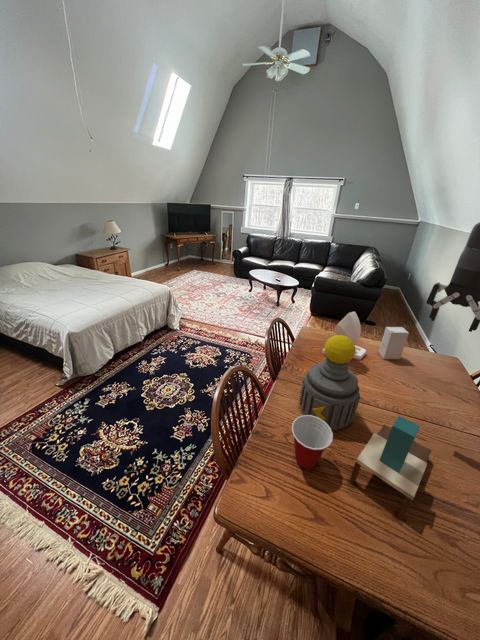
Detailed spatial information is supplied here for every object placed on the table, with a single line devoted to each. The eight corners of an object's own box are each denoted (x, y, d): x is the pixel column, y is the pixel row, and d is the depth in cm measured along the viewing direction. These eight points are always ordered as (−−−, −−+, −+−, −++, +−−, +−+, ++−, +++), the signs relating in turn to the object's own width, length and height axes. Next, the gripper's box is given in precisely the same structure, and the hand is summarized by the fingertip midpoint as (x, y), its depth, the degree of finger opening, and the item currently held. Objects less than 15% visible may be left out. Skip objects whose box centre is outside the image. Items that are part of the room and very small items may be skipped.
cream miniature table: (427, 458, 79) (438, 436, 75) (402, 520, 63) (414, 497, 59) (381, 432, 87) (389, 411, 83) (349, 482, 71) (356, 458, 67)
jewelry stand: (338, 340, 143) (348, 296, 132) (368, 351, 133) (381, 305, 123) (315, 358, 126) (324, 309, 115) (347, 372, 116) (360, 320, 106)
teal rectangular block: (404, 461, 67) (420, 426, 62) (398, 473, 64) (414, 437, 59) (385, 449, 70) (398, 415, 65) (379, 460, 67) (392, 425, 62)
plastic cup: (287, 475, 72) (292, 443, 67) (286, 442, 82) (291, 412, 77) (328, 481, 71) (337, 450, 66) (322, 447, 81) (329, 417, 76)
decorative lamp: (346, 442, 83) (370, 360, 70) (289, 415, 92) (302, 339, 79) (358, 406, 97) (380, 334, 85) (308, 386, 106) (321, 318, 94)
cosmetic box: (394, 353, 133) (403, 326, 126) (400, 360, 127) (410, 332, 121) (377, 352, 133) (385, 325, 126) (383, 359, 127) (391, 331, 121)
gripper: (438, 263, 68) (418, 320, 75) (513, 275, 59) (482, 339, 66) (444, 259, 73) (424, 313, 80) (514, 270, 64) (485, 330, 71)
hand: (451, 325), depth 73 cm, fingers open, 8 cm apart
